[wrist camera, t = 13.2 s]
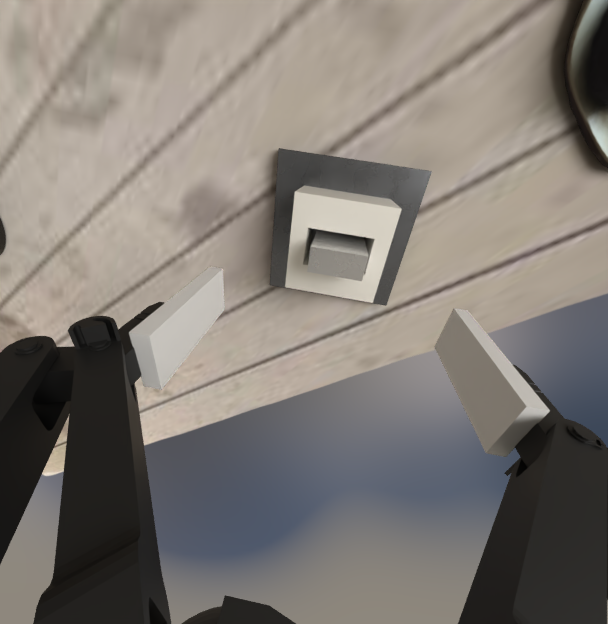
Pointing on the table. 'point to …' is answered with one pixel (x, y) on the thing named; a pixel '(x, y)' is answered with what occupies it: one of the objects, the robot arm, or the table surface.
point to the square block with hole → (348, 220)
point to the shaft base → (345, 182)
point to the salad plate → (590, 75)
